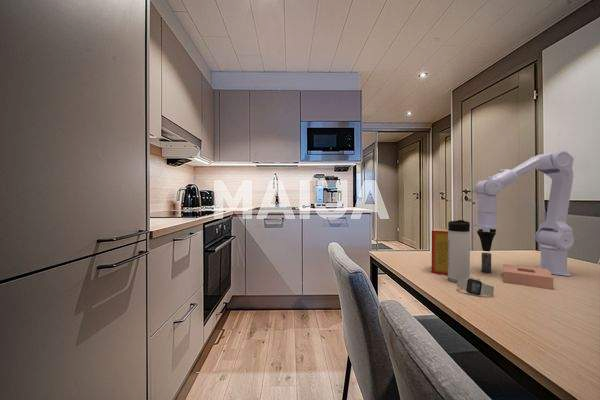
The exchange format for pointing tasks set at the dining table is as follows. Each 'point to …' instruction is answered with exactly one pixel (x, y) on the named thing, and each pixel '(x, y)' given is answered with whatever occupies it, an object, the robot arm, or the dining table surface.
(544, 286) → the socket block
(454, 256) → the travel mug
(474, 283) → the wristwatch
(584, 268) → the dining table surface
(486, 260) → the peg
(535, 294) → the dining table surface
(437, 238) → the baking soda box
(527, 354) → the dining table surface
